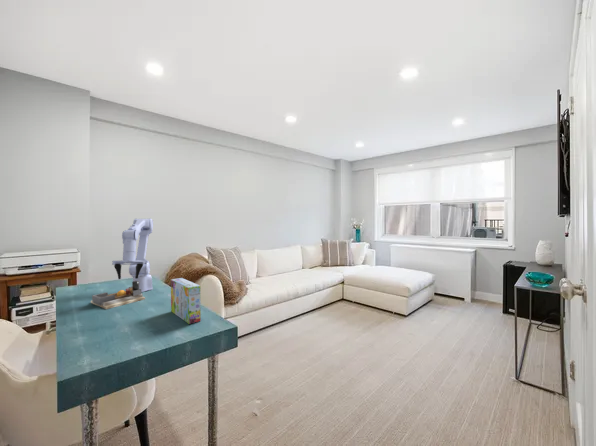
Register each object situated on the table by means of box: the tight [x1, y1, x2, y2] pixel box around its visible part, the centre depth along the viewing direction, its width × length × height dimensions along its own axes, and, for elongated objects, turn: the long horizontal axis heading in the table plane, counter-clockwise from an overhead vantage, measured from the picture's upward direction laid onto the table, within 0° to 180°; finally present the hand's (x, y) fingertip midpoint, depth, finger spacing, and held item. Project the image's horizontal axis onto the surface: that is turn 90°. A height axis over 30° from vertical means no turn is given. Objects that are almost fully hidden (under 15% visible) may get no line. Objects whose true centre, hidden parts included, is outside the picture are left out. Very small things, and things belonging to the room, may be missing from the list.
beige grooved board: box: [90, 290, 146, 310], centre depth 145 cm, size 18×18×3 cm
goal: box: [91, 292, 115, 305], centre depth 140 cm, size 6×9×3 cm
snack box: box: [170, 277, 202, 325], centre depth 122 cm, size 21×6×15 cm, turn 43°
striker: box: [125, 280, 142, 296], centre depth 148 cm, size 4×10×8 cm, turn 55°
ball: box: [116, 289, 126, 296], centre depth 147 cm, size 4×4×4 cm
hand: (128, 278), depth 144 cm, fingers open, 7 cm apart
